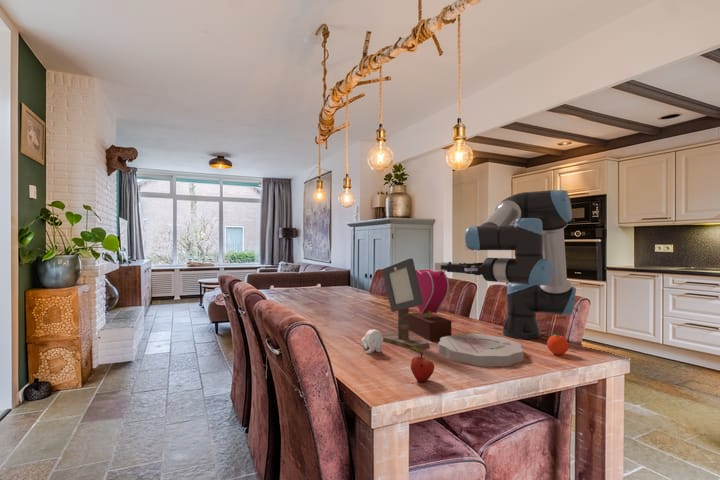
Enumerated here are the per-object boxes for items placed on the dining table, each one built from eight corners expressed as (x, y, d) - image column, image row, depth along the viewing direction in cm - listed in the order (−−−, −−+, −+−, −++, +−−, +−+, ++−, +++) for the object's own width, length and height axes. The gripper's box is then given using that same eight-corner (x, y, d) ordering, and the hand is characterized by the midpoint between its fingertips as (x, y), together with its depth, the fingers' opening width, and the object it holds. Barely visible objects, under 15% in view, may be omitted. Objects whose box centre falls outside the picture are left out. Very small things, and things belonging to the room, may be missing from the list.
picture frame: (423, 304, 143) (412, 258, 147) (419, 305, 141) (408, 258, 146) (395, 311, 155) (385, 269, 159) (390, 312, 153) (381, 269, 158)
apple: (426, 375, 116) (426, 342, 116) (438, 383, 109) (438, 348, 110) (404, 378, 113) (404, 345, 113) (415, 386, 107) (415, 351, 107)
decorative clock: (455, 340, 156) (455, 268, 156) (433, 343, 153) (432, 268, 153) (427, 327, 180) (427, 264, 180) (407, 329, 177) (407, 265, 177)
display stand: (429, 346, 147) (429, 265, 148) (415, 350, 142) (415, 266, 142) (389, 335, 164) (389, 263, 165) (376, 338, 159) (376, 264, 159)
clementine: (540, 351, 141) (540, 332, 141) (556, 350, 142) (556, 331, 142) (557, 357, 133) (556, 337, 133) (573, 356, 135) (573, 336, 135)
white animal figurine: (368, 331, 136) (356, 327, 147) (369, 355, 135) (356, 349, 146) (384, 329, 139) (370, 326, 150) (385, 353, 138) (371, 348, 149)
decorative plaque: (431, 333, 155) (505, 333, 154) (431, 342, 155) (505, 342, 154) (447, 355, 125) (538, 356, 124) (447, 366, 125) (539, 367, 124)
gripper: (484, 283, 113) (424, 278, 131) (511, 280, 123) (452, 275, 142) (484, 258, 113) (423, 256, 131) (511, 257, 124) (452, 255, 142)
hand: (438, 266), depth 136 cm, fingers open, 3 cm apart
